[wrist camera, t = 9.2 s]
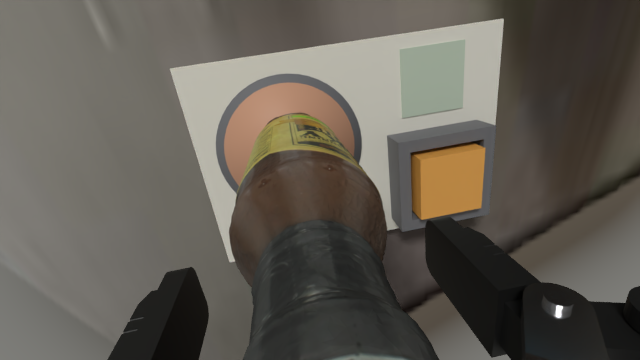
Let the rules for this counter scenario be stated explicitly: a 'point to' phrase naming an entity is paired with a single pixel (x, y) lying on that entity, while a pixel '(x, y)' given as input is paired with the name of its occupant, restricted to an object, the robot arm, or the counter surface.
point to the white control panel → (351, 108)
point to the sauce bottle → (316, 252)
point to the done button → (447, 179)
